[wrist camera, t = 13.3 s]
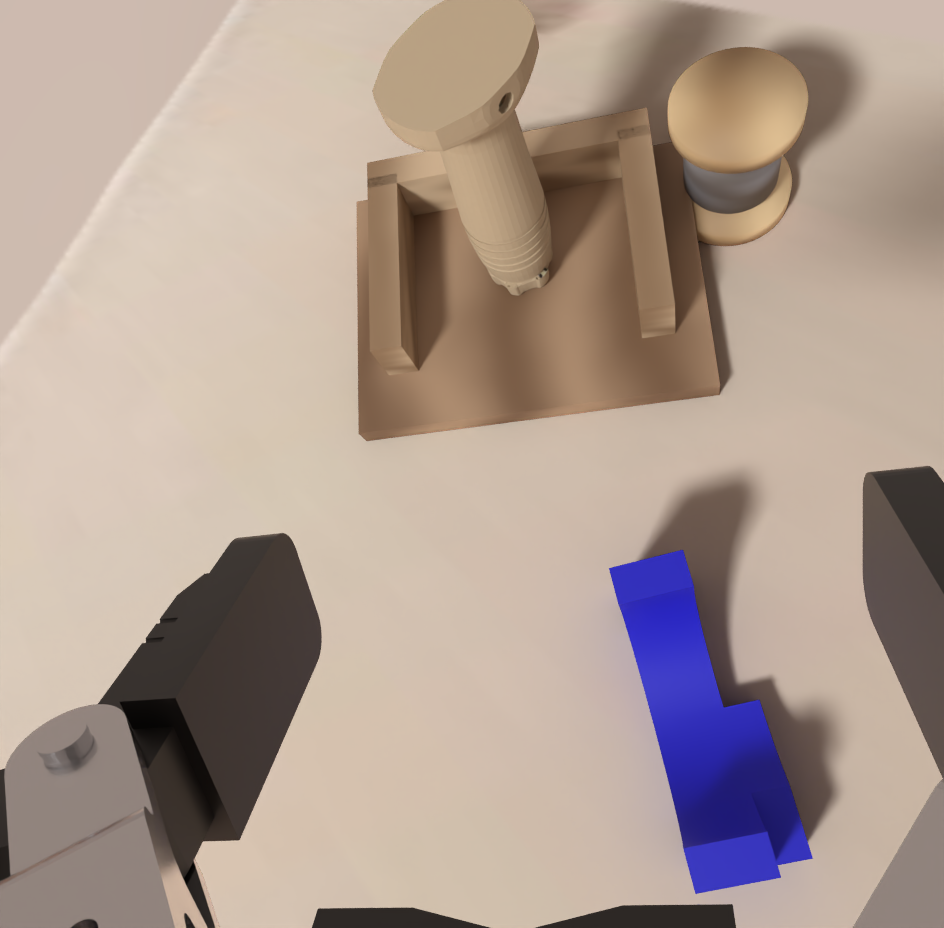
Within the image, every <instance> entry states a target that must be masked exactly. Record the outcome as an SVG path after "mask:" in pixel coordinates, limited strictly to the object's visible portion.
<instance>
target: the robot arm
mask: <svg viewBox="0 0 944 928" xmlns="http://www.w3.org/2000/svg"><path fill="white" fill-rule="evenodd" d="M863 583H864V591H865V597H866V602H867V606H868V610H869V614H870V617H871V619H872V622H873V624H874V626H875V629H876V631H877V633H878V635H879V638H880V640H881V642H882V644H883V646H884V649H885V651H886V653H887V655H888V657H889V660H890V662H891V664H892V666H893V669H894V671H895V673H896V675H897V677H898V680H899V682H900V684H901V686H902V689H903V691H904V693H905V695H906V697H907V700H908V702H909V704H910V706H911V708H912V711H913V713H914V715H915V717H916V720H917V722H918V724H919V726H920V728H921V731H922V733H923V735H924V737H925V740H926V742H927V744H928V746H929V748H930V751H931V753H932V755H933V757H934V759H935V762H936V764H937V766H938V768H939V771H940V773H941V775H942V777H943V779H942V780H941V781H940V782H939V783H938V785H937V786H936V787H935V789H934V790H933V792H932V794H931V795H930V797H929V799H928V800H927V802H926V804H925V805H924V807H923V809H922V810H921V812H920V814H919V816H918V817H917V819H916V821H915V822H914V824H913V826H912V828H911V829H910V831H909V833H908V834H907V836H906V838H905V839H904V841H903V843H902V845H901V846H900V848H899V850H898V851H897V853H896V855H895V857H894V858H893V860H892V862H891V863H890V865H889V867H888V868H887V870H886V872H885V874H884V875H883V877H882V879H881V880H880V882H879V884H878V886H877V887H876V889H875V891H874V892H873V894H872V896H871V897H870V899H869V901H868V903H867V904H866V906H865V908H864V909H863V911H862V913H861V915H860V916H859V918H858V920H857V921H856V923H855V925H854V926H853V928H944V482H943V481H942V480H941V478H940V477H939V476H938V474H937V473H936V472H935V470H934V469H933V468H932V467H930V466H924V467H914V468H905V469H896V470H886V471H877V472H868V473H867V474H866V475H865V478H864V483H863ZM320 650H321V625H320V620H319V616H318V613H317V610H316V607H315V604H314V601H313V598H312V595H311V592H310V589H309V586H308V584H307V581H306V578H305V575H304V572H303V569H302V566H301V563H300V560H299V557H298V554H297V551H296V548H295V546H294V543H293V541H292V540H291V538H290V537H289V536H288V535H286V534H284V533H280V534H270V535H261V536H251V537H242V538H236V539H234V540H233V541H232V542H231V543H230V544H229V546H228V547H227V549H226V550H225V552H224V553H223V554H222V556H221V557H220V559H219V560H218V562H217V563H216V564H215V566H214V567H213V569H212V570H211V572H210V573H208V574H204V575H203V576H201V577H200V578H199V579H197V580H196V581H195V582H194V583H192V584H191V585H190V586H189V587H187V588H186V589H185V590H183V591H182V592H181V593H180V594H178V595H177V596H176V598H175V599H174V600H173V602H172V603H171V605H170V606H169V607H168V609H167V610H166V611H165V613H164V614H163V616H162V617H161V618H160V624H156V625H155V626H154V628H153V629H152V631H151V632H150V633H149V635H148V636H147V637H146V643H142V644H141V646H140V647H139V648H138V650H137V651H136V653H135V654H134V655H133V657H132V658H131V659H130V661H129V662H128V663H127V665H126V666H125V668H124V669H123V670H122V672H121V673H120V674H119V676H118V677H117V679H116V680H115V681H114V683H113V684H112V685H111V687H110V688H109V690H108V691H107V692H106V694H105V695H104V696H103V698H102V699H101V701H100V702H99V703H98V704H96V705H89V706H84V707H80V708H77V709H74V710H71V711H68V712H66V713H63V714H61V715H59V716H57V717H55V718H53V719H51V720H50V721H48V722H46V723H45V724H43V725H42V726H40V727H39V728H38V729H36V730H35V731H33V732H32V733H31V734H30V735H29V736H28V737H26V738H25V739H24V740H23V741H22V742H21V743H20V744H19V746H18V747H17V748H16V749H15V751H14V752H13V753H12V755H11V756H10V758H9V760H8V762H7V765H6V768H5V769H2V770H0V928H220V926H219V923H218V920H217V917H216V914H215V911H214V908H213V905H212V902H211V899H210V896H209V893H208V890H207V886H206V883H205V880H204V877H203V874H202V872H201V870H200V868H199V866H198V864H197V862H196V860H195V856H196V854H197V852H198V850H199V848H200V846H201V844H202V842H203V841H230V840H240V838H241V835H242V833H243V831H244V828H245V826H246V824H247V822H248V819H249V817H250V815H251V812H252V810H253V808H254V806H255V803H256V801H257V799H258V796H259V794H260V792H261V790H262V787H263V785H264V783H265V780H266V778H267V776H268V774H269V771H270V769H271V767H272V764H273V762H274V760H275V758H276V755H277V753H278V751H279V748H280V746H281V744H282V742H283V739H284V737H285V735H286V732H287V730H288V728H289V726H290V723H291V721H292V719H293V716H294V714H295V712H296V710H297V707H298V705H299V703H300V700H301V698H302V696H303V694H304V691H305V689H306V687H307V684H308V682H309V680H310V678H311V675H312V673H313V671H314V668H315V666H316V664H317V662H318V659H319V655H320ZM312 928H489V927H485V926H481V925H477V924H473V923H470V922H466V921H462V920H458V919H454V918H450V917H446V916H443V915H439V914H435V913H431V912H427V911H423V910H419V909H415V908H332V909H318V910H317V913H316V917H315V920H314V923H313V926H312ZM536 928H736V925H735V918H734V911H733V905H732V904H729V905H630V906H619V907H615V908H611V909H607V910H603V911H599V912H595V913H591V914H588V915H584V916H580V917H576V918H572V919H568V920H564V921H560V922H556V923H552V924H548V925H544V926H540V927H536Z"/></svg>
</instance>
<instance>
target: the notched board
mask: <svg viewBox="0 0 944 928" xmlns="http://www.w3.org/2000/svg"><path fill="white" fill-rule="evenodd" d="M522 133H523V136H524V139H525V142H526V145H527V148H528V150H529V153H530V156H531V158H532V161H533V164H534V167H535V169H536V172H537V175H538V178H539V180H540V183H541V186H542V189H543V192H544V196H545V200H546V204H547V208H548V213H549V220H550V227H551V245H552V251H553V256H552V260H551V262H550V263H549V266H548V271H549V280H548V282H547V283H546V284H545V285H544V286H543V287H541V288H538V287H537V288H532V289H529V290H527V291H525V292H523V293H522V294H521V295H519V296H517V295H511V294H510V292H509V291H508V289H507V288H506V287H505V286H503V285H498V284H496V283H495V282H494V281H493V279H492V278H491V276H490V274H489V272H488V270H487V268H486V267H485V265H484V264H483V263H482V261H481V260H480V258H479V256H478V255H477V253H476V251H475V249H474V248H473V246H472V244H471V242H470V240H469V238H468V236H467V233H466V231H465V228H464V226H463V223H462V221H461V218H460V214H459V211H458V208H457V204H456V201H455V198H454V194H453V191H452V188H451V185H450V181H449V178H448V175H447V172H446V169H445V166H444V163H443V160H442V157H441V154H440V151H425V152H420V153H415V154H410V155H405V156H400V157H395V158H390V159H385V160H380V161H375V162H370V163H367V177H368V200H364V201H359V202H357V291H358V405H359V434H360V435H361V436H362V437H363V438H364V439H365V440H366V441H370V440H378V439H386V438H393V437H401V436H409V435H416V434H424V433H431V432H439V431H447V430H454V429H462V428H470V427H477V426H485V425H492V424H500V423H508V422H515V421H523V420H531V419H538V418H546V417H553V416H561V415H569V414H576V413H584V412H592V411H599V410H607V409H615V408H622V407H630V406H637V405H645V404H653V403H660V402H668V401H676V400H683V399H691V398H698V397H706V396H714V395H719V392H720V380H719V374H718V368H717V361H716V355H715V348H714V342H713V336H712V329H711V323H710V316H709V310H708V304H707V297H706V291H705V284H704V278H703V272H702V265H701V259H700V252H699V246H698V240H697V233H696V227H695V220H694V214H693V207H692V201H691V198H690V197H689V195H688V193H687V192H686V189H685V186H684V181H683V157H682V156H681V155H680V153H679V152H678V151H677V150H676V148H675V147H674V145H673V143H672V142H670V143H665V144H659V145H654V146H652V139H651V132H650V125H649V118H648V111H647V108H642V109H637V110H631V111H626V112H621V113H616V114H611V115H606V116H601V117H596V118H591V119H586V120H581V121H576V122H571V123H566V124H561V125H556V126H551V127H546V128H541V129H536V130H531V131H526V132H522Z"/></svg>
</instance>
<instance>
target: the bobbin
mask: <svg viewBox="0 0 944 928" xmlns="http://www.w3.org/2000/svg"><path fill="white" fill-rule="evenodd" d="M807 106H808V90H807V86H806V82H805V80H804V78H803V76H802V74H801V73H800V72H799V70H798V69H797V68H796V67H795V66H794V65H793V64H792V63H791V62H790V61H788V60H787V59H786V58H784V57H782V56H780V55H779V54H776V53H774V52H771V51H768V50H764V49H759V48H752V47H738V48H730V49H725V50H721V51H718V52H715V53H712V54H710V55H708V56H705V57H703V58H701V59H700V60H698V61H697V62H695V63H694V64H692V65H691V66H690V67H689V68H687V69H686V70H685V72H684V73H683V74H682V75H681V76H680V77H679V78H678V80H677V81H676V83H675V85H674V86H673V88H672V91H671V93H670V96H669V100H668V131H669V135H670V138H671V141H672V143H673V145H674V147H675V148H676V150H677V151H678V152H679V153H680V155H681V156H682V157H683V181H684V186H685V189H686V192H687V193H688V195H689V197H690V198H691V201H692V207H693V214H694V220H695V227H696V233H697V240H698V241H701V242H704V243H707V244H711V245H718V246H733V245H740V244H744V243H748V242H750V241H753V240H755V239H757V238H760V237H761V236H763V235H765V234H766V233H767V232H769V231H770V230H771V229H772V228H773V227H774V226H775V225H776V224H777V223H778V222H779V221H780V219H781V218H782V217H783V215H784V213H785V211H786V208H787V206H788V202H789V197H790V192H791V187H792V176H791V170H790V167H789V165H788V162H787V160H786V159H785V157H784V156H783V155H784V154H785V153H787V152H788V151H789V149H790V148H791V147H792V146H793V145H794V144H795V142H796V141H797V139H798V137H799V136H800V134H801V131H802V129H803V126H804V121H805V116H806V111H807Z"/></svg>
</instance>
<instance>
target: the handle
mask: <svg viewBox="0 0 944 928" xmlns="http://www.w3.org/2000/svg"><path fill="white" fill-rule="evenodd" d="M538 49H539V42H538V36H537V31H536V26H535V22H534V19H533V16H532V14H531V13H530V11H529V9H528V8H527V7H526V6H525V5H524V4H523V3H522V2H521V1H520V0H445V1H443V2H441V3H439V4H437V5H435V6H434V7H432V8H431V9H429V10H428V11H426V12H425V13H424V14H422V15H421V16H420V17H419V18H418V19H417V20H416V21H415V22H414V23H413V24H412V25H411V26H410V27H409V28H408V29H407V30H406V31H405V32H404V33H403V35H402V36H401V37H400V38H399V39H398V40H397V41H396V42H395V44H394V45H393V46H392V47H391V49H390V50H389V52H388V54H387V55H386V57H385V59H384V61H383V64H382V66H381V69H380V71H379V74H378V77H377V79H376V82H375V85H374V88H373V90H372V92H373V96H374V99H375V102H376V104H377V106H378V108H379V110H380V112H381V115H382V117H383V119H384V121H385V123H386V124H387V126H388V127H389V128H390V129H391V130H392V132H393V133H394V134H395V135H396V136H397V137H399V138H400V139H401V140H402V141H404V142H405V143H407V144H409V145H411V146H413V147H415V148H418V149H421V150H424V151H440V154H441V157H442V160H443V163H444V166H445V169H446V172H447V175H448V178H449V181H450V185H451V188H452V191H453V194H454V198H455V201H456V204H457V208H458V211H459V214H460V218H461V221H462V223H463V226H464V228H465V231H466V233H467V236H468V238H469V240H470V242H471V244H472V246H473V248H474V249H475V251H476V253H477V255H478V256H479V258H480V260H481V261H482V263H483V264H484V265H485V267H486V268H487V270H488V272H489V274H490V276H491V278H492V279H493V281H494V282H495V283H496V284H498V285H503V286H505V287H506V288H507V289H508V291H509V292H510V294H511V295H517V296H519V295H521V294H522V293H523V292H525V291H527V290H529V289H532V288H537V287H538V288H541V287H543V286H544V285H545V284H546V283H547V282H548V280H549V271H548V266H549V263H550V262H551V260H552V256H553V251H552V245H551V227H550V220H549V213H548V208H547V204H546V200H545V196H544V192H543V189H542V186H541V183H540V180H539V178H538V175H537V172H536V169H535V167H534V164H533V161H532V158H531V156H530V153H529V150H528V148H527V145H526V142H525V139H524V136H523V133H522V130H521V127H520V124H519V121H518V118H517V115H516V112H515V108H516V106H517V105H518V103H519V101H520V99H521V97H522V95H523V93H524V91H525V89H526V86H527V84H528V82H529V79H530V76H531V73H532V71H533V68H534V64H535V61H536V57H537V53H538Z"/></svg>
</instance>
